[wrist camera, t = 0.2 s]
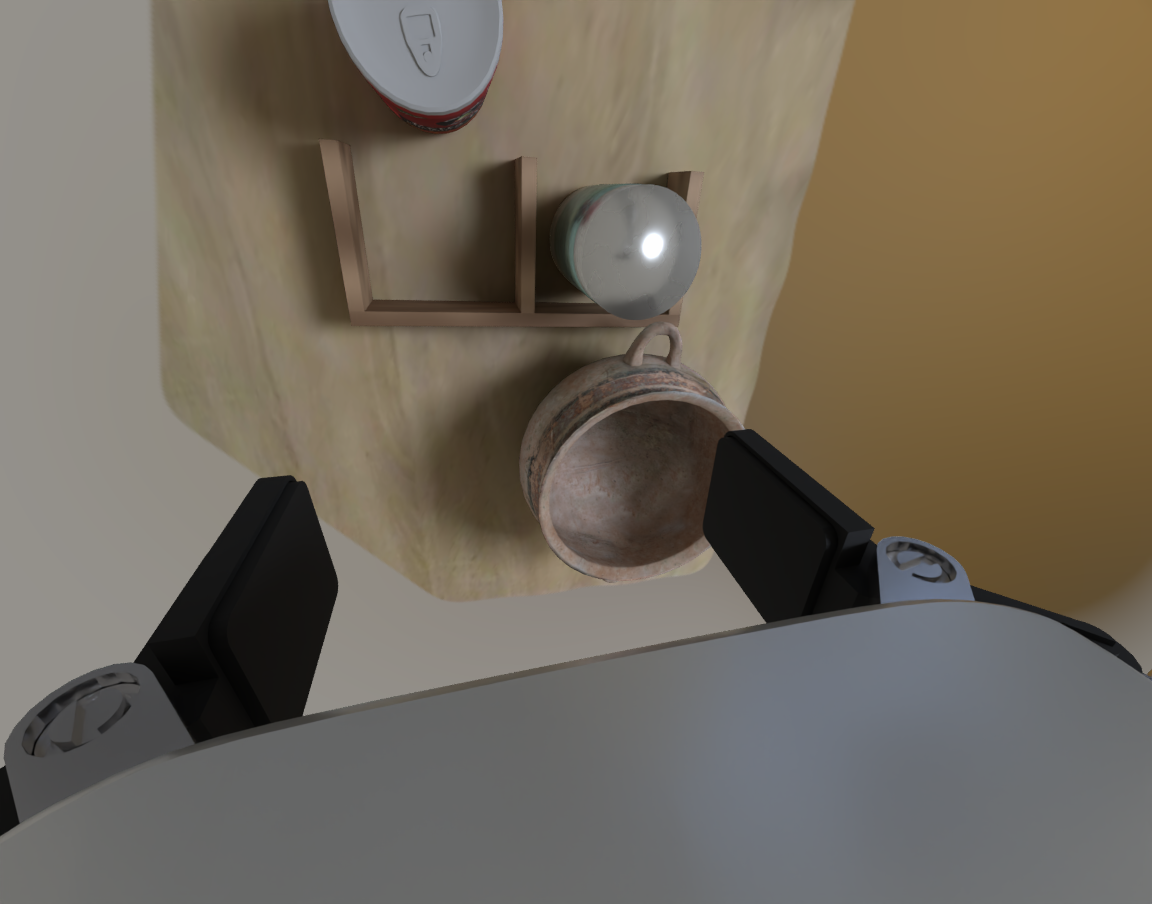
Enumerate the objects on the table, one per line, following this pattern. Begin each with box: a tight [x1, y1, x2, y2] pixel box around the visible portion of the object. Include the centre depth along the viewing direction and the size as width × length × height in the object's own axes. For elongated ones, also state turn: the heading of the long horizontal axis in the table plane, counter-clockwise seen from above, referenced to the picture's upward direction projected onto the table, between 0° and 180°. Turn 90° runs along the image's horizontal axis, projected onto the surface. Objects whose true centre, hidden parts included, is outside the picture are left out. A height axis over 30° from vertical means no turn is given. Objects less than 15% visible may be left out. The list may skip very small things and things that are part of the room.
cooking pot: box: [519, 322, 745, 583], centre depth 41 cm, size 25×19×12 cm
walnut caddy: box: [319, 139, 704, 327], centre depth 34 cm, size 11×25×4 cm, turn 87°
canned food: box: [328, 0, 503, 134], centre depth 25 cm, size 8×8×11 cm
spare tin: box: [549, 184, 701, 320], centre depth 33 cm, size 8×8×11 cm
